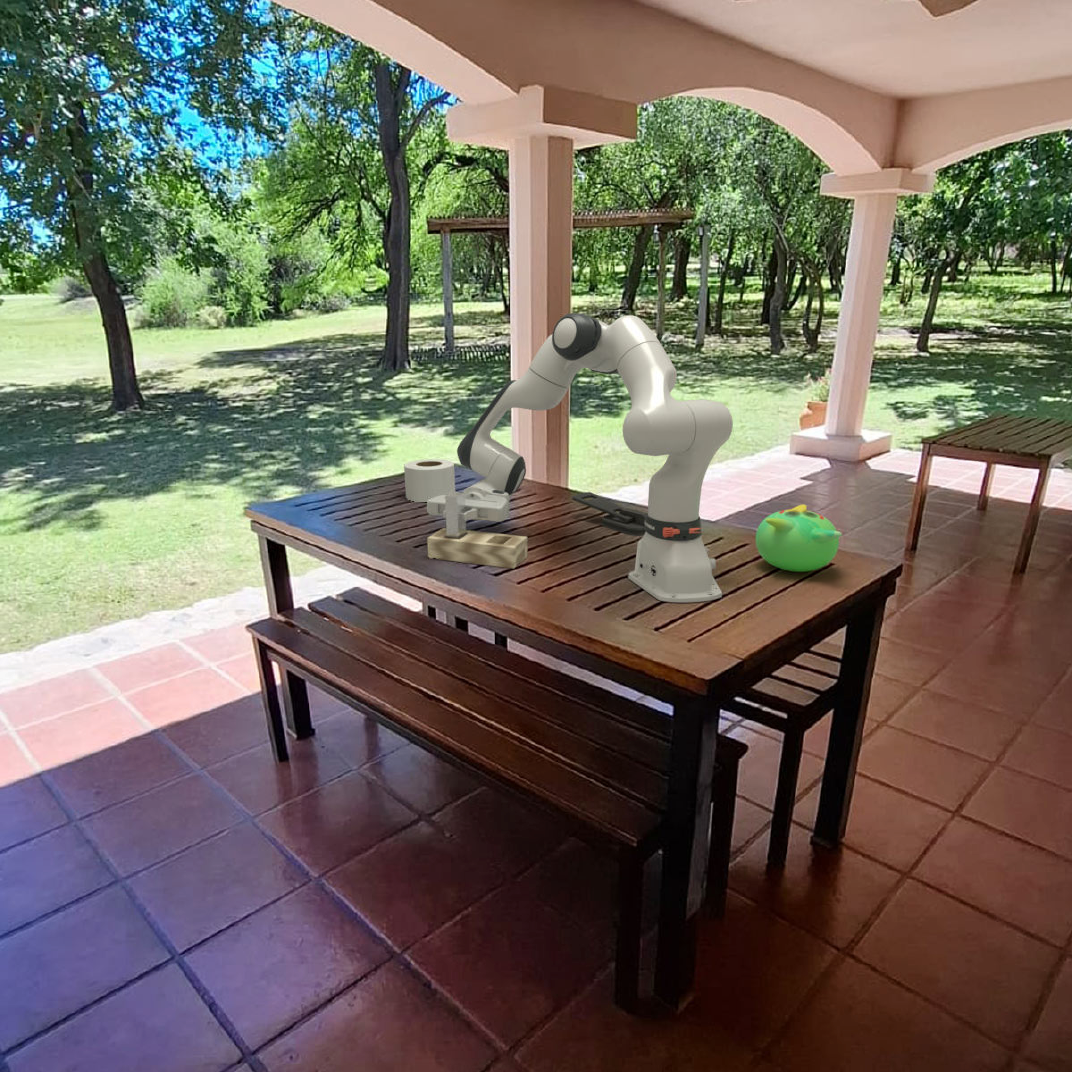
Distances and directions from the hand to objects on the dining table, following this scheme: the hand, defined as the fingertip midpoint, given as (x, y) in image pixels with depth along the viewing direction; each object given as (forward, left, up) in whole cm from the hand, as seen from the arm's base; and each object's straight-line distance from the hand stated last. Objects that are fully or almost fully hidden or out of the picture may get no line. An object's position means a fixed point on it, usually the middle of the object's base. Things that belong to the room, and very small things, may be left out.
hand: (454, 516), depth 176 cm
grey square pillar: (+1, 0, -8) cm, 8 cm away
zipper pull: (+20, -45, -10) cm, 50 cm away
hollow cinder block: (-2, -5, -10) cm, 11 cm away
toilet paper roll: (+58, +4, -10) cm, 59 cm away
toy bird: (-22, -76, -10) cm, 80 cm away
